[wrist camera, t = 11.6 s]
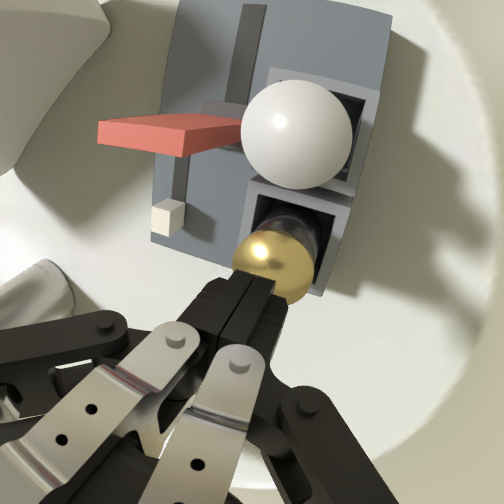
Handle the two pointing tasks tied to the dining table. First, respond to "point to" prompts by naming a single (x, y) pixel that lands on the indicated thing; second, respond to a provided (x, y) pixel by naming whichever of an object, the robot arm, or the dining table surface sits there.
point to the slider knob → (167, 217)
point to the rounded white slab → (40, 62)
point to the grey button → (296, 134)
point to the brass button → (283, 250)
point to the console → (243, 91)
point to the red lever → (178, 130)
